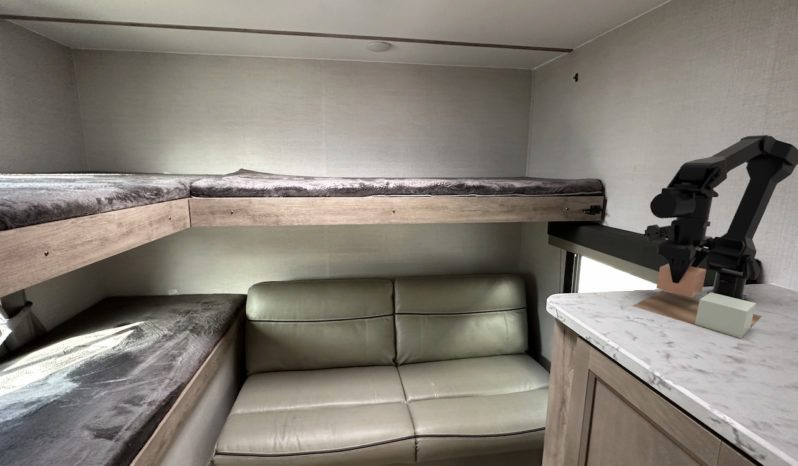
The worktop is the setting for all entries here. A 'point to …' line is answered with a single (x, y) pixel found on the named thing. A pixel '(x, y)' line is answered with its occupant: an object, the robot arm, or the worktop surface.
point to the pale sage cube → (725, 314)
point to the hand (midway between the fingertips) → (680, 279)
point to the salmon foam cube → (682, 281)
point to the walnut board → (677, 308)
